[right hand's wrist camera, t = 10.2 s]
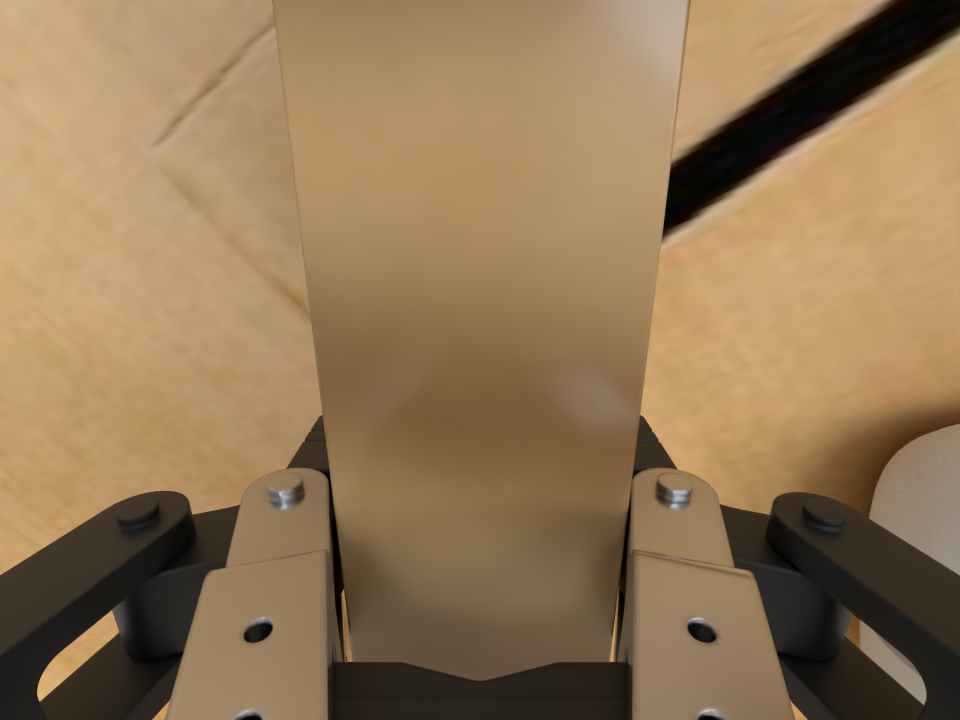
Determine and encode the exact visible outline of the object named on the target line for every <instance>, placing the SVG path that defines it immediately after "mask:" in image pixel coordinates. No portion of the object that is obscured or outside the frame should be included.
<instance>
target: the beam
mask: <svg viewBox="0 0 960 720" xmlns="http://www.w3.org/2000/svg"><path fill="white" fill-rule="evenodd" d="M272 2H273V10H274V18H275V27H276V35H277V43H278V51H279V59H280V68H281V76H282V84H283V92H284V100H285V109H286V117H287V125H288V133H289V141H290V150H291V158H292V166H293V174H294V182H295V191H296V199H297V207H298V215H299V223H300V232H301V240H302V248H303V256H304V264H305V272H306V281H307V289H308V297H309V305H310V313H311V322H312V330H313V338H314V346H315V354H316V363H317V371H318V379H319V387H320V395H321V404H322V412H323V420H324V428H325V436H326V445H327V453H328V461H329V469H330V477H331V486H332V494H333V502H334V510H335V518H336V527H337V535H338V543H339V551H340V559H341V568H342V576H343V584H344V592H345V600H346V609H347V617H348V625H349V633H350V641H351V650H352V658H353V662H403V663H407V664H411V665H415V666H419V667H423V668H427V669H431V670H435V671H439V672H443V673H447V674H451V675H455V676H459V677H463V678H467V679H471V680H476V681H484V680H489V679H493V678H497V677H501V676H505V675H509V674H513V673H517V672H521V671H525V670H529V669H533V668H537V667H541V666H545V665H549V664H553V663H557V662H610V654H611V646H612V638H613V630H614V621H615V613H616V605H617V597H618V589H619V581H620V573H621V564H622V556H623V548H624V540H625V532H626V524H627V516H628V508H629V499H630V491H631V483H632V475H633V467H634V459H635V451H636V442H637V434H638V426H639V418H640V410H641V402H642V394H643V386H644V377H645V369H646V361H647V353H648V345H649V337H650V329H651V321H652V312H653V304H654V296H655V288H656V280H657V272H658V264H659V255H660V247H661V239H662V231H663V223H664V215H665V207H666V199H667V190H668V182H669V174H670V166H671V158H672V150H673V142H674V133H675V125H676V117H677V109H678V101H679V93H680V85H681V77H682V68H683V60H684V52H685V44H686V36H687V28H688V20H689V12H690V3H691V0H272Z"/></svg>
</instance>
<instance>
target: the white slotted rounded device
mask: <svg viewBox="0 0 960 720" xmlns="http://www.w3.org/2000/svg"><path fill="white" fill-rule="evenodd" d="M869 519H871V520H872V521H874V522H875V523H877V524H879V525H880V526H882V527H883V528H885V529H887V530H888V531H890V532H891V533H893V534H895V535H896V536H898V537H899V538H901V539H903V540H904V541H906V542H907V543H909V544H911V545H912V546H914V547H915V548H917V549H919V550H920V551H922V552H923V553H925V554H927V555H928V556H930V557H931V558H933V559H935V560H936V561H938V562H939V563H941V564H942V565H944V566H946V567H947V568H949V569H950V570H952V571H954V572H955V573H957V574H958V575H960V424H956V425H952V426H949V427H945V428H942V429H939V430H937V431H934V432H931V433H928V434H926V435H923V436H920V437H918V438H917V439H915V440H913V441H911V442H909V443H908V444H907V445H905V446H904V447H903V448H901V449H900V450H899V451H898V452H897V453H896V454H895V455H894V456H893V457H892V459H891V460H890V461H889V462H888V464H887V465H886V466H885V468H884V470H883V472H882V474H881V476H880V478H879V481H878V483H877V486H876V489H875V492H874V496H873V501H872V505H871V510H870V515H869ZM860 650H861V651H862V652H864V653H865V654H866V655H867V656H868V657H869V658H870V659H872V660H873V661H874V662H875V663H876V664H877V665H878V666H880V667H881V668H882V669H883V670H884V671H885V672H886V673H888V674H889V675H890V676H891V677H892V678H893V679H894V680H896V681H897V682H898V683H899V684H900V685H901V686H903V687H904V688H905V689H906V690H907V691H908V692H909V693H911V694H912V695H913V696H914V697H915V698H916V699H917V700H919V701H920V702H921V703H922V704H923V705H924V704H925V701H926V688H925V685H924V682H923V680H922V678H921V676H920V674H919V672H918V671H917V669H916V668H915V667H914V665H913V664H912V663H911V662H910V661H909V660H908V659H907V658H906V657H905V656H904V655H903V654H902V653H900V652H899V651H898V650H897V649H895V648H894V647H893V646H892V645H891V644H889V643H888V642H887V641H886V640H884V639H883V638H882V637H881V636H880V635H878V634H877V633H876V632H875V631H873V630H872V629H871V628H870V627H869V626H867V625H866V624H865V623H864V622H862V621H861V620H860Z"/></svg>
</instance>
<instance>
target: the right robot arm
mask: <svg viewBox="0 0 960 720" xmlns="http://www.w3.org/2000/svg"><path fill="white" fill-rule="evenodd" d="M343 589H344V584H343V576H342V568H341V559H340V551H339V543H338V535H337V527H336V518H335V510H334V502H333V494H332V486H331V477H330V469H329V461H328V453H327V445H326V436H325V428H324V420H323V415H322V416H320V417H319V418H318V420H317V421H316V423H315V424H314V426H313V428H312V429H311V432H309V434H308V435H307V437H306V438H305V442H303V443H302V445H301V446H300V448H299V449H298V451H297V453H296V454H295V456H294V457H293V459H292V460H291V462H290V464H289V465H288V467H287V468H286V469H283V470H279V471H275V472H273V473H270V474H267V475H265V476H263V477H261V478H259V479H258V480H256V481H255V482H253V483H252V484H251V485H250V486H249V487H248V488H247V489H246V490H245V492H244V494H243V496H242V500H241V504H240V505H238V506H234V507H230V508H225V509H220V510H215V511H210V512H204V513H199V514H194V515H192V512H191V507H190V503H189V500H188V498H187V497H186V496H184V495H183V494H181V493H178V492H173V491H155V492H149V493H144V494H140V495H137V496H133V497H130V498H128V499H125V500H123V501H120V502H118V503H116V504H114V505H112V506H111V507H109V508H107V509H105V510H104V511H102V512H101V513H99V514H97V515H96V516H94V517H93V518H91V519H89V520H88V521H86V522H85V523H83V524H81V525H80V526H78V527H77V528H75V529H73V530H72V531H70V532H69V533H67V534H65V535H64V536H62V537H61V538H59V539H57V540H56V541H54V542H53V543H51V544H49V545H48V546H46V547H45V548H43V549H41V550H40V551H38V552H37V553H35V554H33V555H32V556H30V557H29V558H27V559H26V560H24V561H22V562H21V563H19V564H18V565H16V566H14V567H13V568H11V569H10V570H8V571H6V572H5V573H3V574H2V575H0V720H152V719H153V718H154V717H155V716H156V715H157V714H158V713H159V711H160V710H161V709H162V708H163V707H164V706H165V705H166V704H167V703H168V701H169V700H170V702H169V706H168V710H167V713H166V717H165V720H795V716H794V713H793V709H792V706H791V702H790V700H791V701H792V703H793V704H794V705H795V706H796V707H797V708H798V709H799V710H800V711H801V712H802V714H803V715H804V716H805V717H806V718H807V719H808V720H960V575H958V574H957V573H955V572H954V571H952V570H950V569H949V568H947V567H946V566H944V565H942V564H941V563H939V562H938V561H936V560H935V559H933V558H931V557H930V556H928V555H927V554H925V553H923V552H922V551H920V550H919V549H917V548H915V547H914V546H912V545H911V544H909V543H907V542H906V541H904V540H903V539H901V538H899V537H898V536H896V535H895V534H893V533H891V532H890V531H888V530H887V529H885V528H883V527H882V526H880V525H879V524H877V523H875V522H874V521H872V520H871V519H869V518H867V517H866V516H864V515H863V514H861V513H859V512H858V511H856V510H855V509H853V508H851V507H849V506H847V505H845V504H843V503H841V502H839V501H836V500H834V499H831V498H828V497H824V496H821V495H816V494H811V493H803V492H791V493H785V494H782V495H780V496H778V497H776V499H775V500H774V501H773V504H772V508H771V512H770V515H766V514H761V513H756V512H751V511H746V510H741V509H736V508H732V507H728V506H725V505H721V504H719V499H718V496H717V493H716V492H715V490H714V489H713V488H712V487H711V486H710V485H709V484H708V483H707V482H705V481H704V480H702V479H701V478H699V477H697V476H695V475H693V474H690V473H688V472H685V471H681V470H678V469H677V468H676V466H675V465H674V463H673V461H672V460H671V458H670V457H669V455H668V454H667V452H666V451H665V449H664V448H663V446H662V444H661V443H660V442H658V438H657V437H656V435H655V434H654V432H652V429H651V428H650V426H649V424H648V423H647V421H646V420H645V418H644V417H643V416H641V415H640V418H639V426H638V434H637V442H636V451H635V459H634V467H633V475H632V483H631V491H630V499H629V508H628V516H627V524H626V532H625V540H624V548H623V556H622V564H621V573H620V581H619V589H618V597H617V605H616V625H615V646H614V662H557V663H553V664H549V665H545V666H541V667H537V668H533V669H529V670H525V671H521V672H517V673H513V674H509V675H505V676H501V677H497V678H493V679H489V680H484V681H476V680H471V679H467V678H463V677H459V676H455V675H451V674H447V673H443V672H439V671H435V670H431V669H427V668H423V667H419V666H415V665H411V664H407V663H403V662H346V645H345V624H344V605H343V597H342V591H343ZM111 610H112V611H113V614H114V617H115V620H116V623H117V626H118V629H119V633H118V634H117V635H116V636H115V637H114V638H113V639H111V640H110V641H109V642H108V643H107V644H106V645H105V646H103V647H102V648H101V649H100V650H99V651H98V652H96V653H95V654H94V655H93V656H92V657H91V658H90V659H88V660H87V661H86V662H85V663H84V664H83V665H82V666H80V667H79V668H78V669H77V670H76V671H75V672H74V673H72V674H71V675H70V676H69V677H68V678H67V679H66V680H64V681H63V682H62V683H61V684H60V685H59V686H58V687H56V688H55V689H54V690H53V691H52V692H51V693H49V694H48V695H47V696H46V697H45V698H44V699H43V700H41V701H40V702H39V700H38V697H37V688H38V683H39V680H40V678H41V676H42V674H43V672H44V670H45V669H46V667H47V666H48V664H49V663H50V662H51V661H52V660H53V659H54V657H55V656H56V655H58V654H59V653H60V652H61V651H62V650H63V649H65V648H66V647H67V646H68V645H69V644H71V643H72V642H73V641H74V640H76V639H77V638H78V637H79V636H80V635H82V634H83V633H84V632H85V631H87V630H88V629H89V628H90V627H91V626H93V625H94V624H95V623H96V622H98V621H99V620H100V619H101V618H102V617H104V616H105V615H106V614H107V613H109V612H110V611H111ZM852 613H853V614H854V615H855V616H856V617H858V618H859V619H860V620H861V621H862V622H864V623H865V624H866V625H867V626H869V627H870V628H871V629H872V630H873V631H875V632H876V633H877V634H878V635H880V636H881V637H882V638H883V639H884V640H886V641H887V642H888V643H889V644H891V645H892V646H893V647H894V648H895V649H897V650H898V651H899V652H900V653H902V654H903V655H904V656H905V657H906V658H907V659H908V660H909V661H910V662H911V663H912V664H913V665H914V667H915V668H916V669H917V671H918V672H919V674H920V676H921V678H922V680H923V682H924V685H925V688H926V701H925V704H924V705H923V704H922V703H921V702H920V701H919V700H917V699H916V698H915V697H914V696H913V695H912V694H911V693H909V692H908V691H907V690H906V689H905V688H904V687H903V686H901V685H900V684H899V683H898V682H897V681H896V680H894V679H893V678H892V677H891V676H890V675H889V674H888V673H886V672H885V671H884V670H883V669H882V668H881V667H880V666H878V665H877V664H876V663H875V662H874V661H873V660H872V659H870V658H869V657H868V656H867V655H866V654H865V653H864V652H862V651H861V650H860V649H859V648H858V647H857V646H855V645H854V644H853V643H852V642H851V641H850V640H849V639H847V638H846V637H845V633H846V630H847V628H848V625H849V622H850V619H851V616H852Z"/></svg>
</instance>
